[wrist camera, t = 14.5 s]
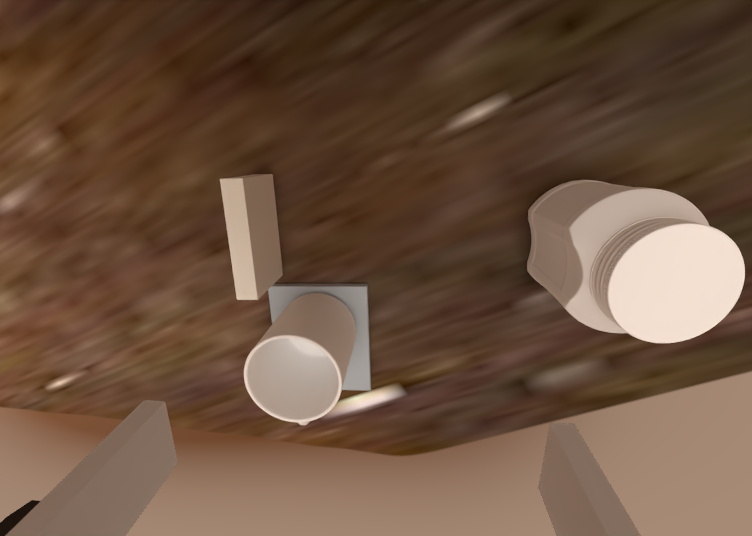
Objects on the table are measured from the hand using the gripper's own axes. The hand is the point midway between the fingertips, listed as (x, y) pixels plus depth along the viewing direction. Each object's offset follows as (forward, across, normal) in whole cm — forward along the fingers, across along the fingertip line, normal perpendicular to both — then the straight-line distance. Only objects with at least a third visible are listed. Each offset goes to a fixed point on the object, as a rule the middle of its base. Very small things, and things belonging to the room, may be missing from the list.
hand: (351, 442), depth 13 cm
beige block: (+29, -14, +1) cm, 32 cm away
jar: (+29, +19, +1) cm, 35 cm away
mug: (+28, -8, -12) cm, 31 cm away
